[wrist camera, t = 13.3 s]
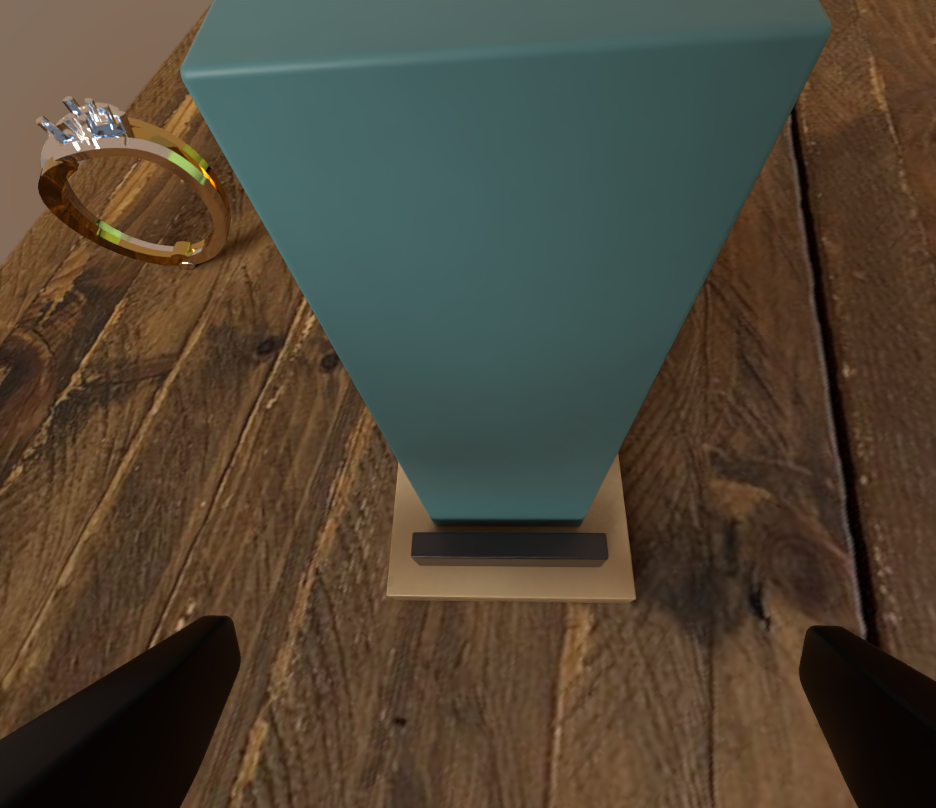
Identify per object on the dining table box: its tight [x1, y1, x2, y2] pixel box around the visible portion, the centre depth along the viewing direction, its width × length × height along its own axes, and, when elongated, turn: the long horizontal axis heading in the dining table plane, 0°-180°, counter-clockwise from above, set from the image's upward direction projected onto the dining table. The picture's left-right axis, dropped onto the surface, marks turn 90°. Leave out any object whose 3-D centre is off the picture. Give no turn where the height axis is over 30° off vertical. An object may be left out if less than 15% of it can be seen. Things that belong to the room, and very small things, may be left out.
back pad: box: [180, 0, 831, 527], centre depth 11 cm, size 4×5×15 cm
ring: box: [36, 96, 231, 269], centre depth 22 cm, size 7×3×8 cm, turn 91°
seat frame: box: [387, 453, 636, 603], centre depth 18 cm, size 12×8×4 cm, turn 179°
